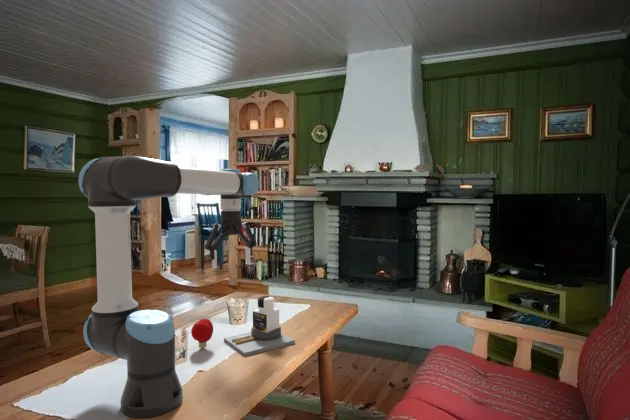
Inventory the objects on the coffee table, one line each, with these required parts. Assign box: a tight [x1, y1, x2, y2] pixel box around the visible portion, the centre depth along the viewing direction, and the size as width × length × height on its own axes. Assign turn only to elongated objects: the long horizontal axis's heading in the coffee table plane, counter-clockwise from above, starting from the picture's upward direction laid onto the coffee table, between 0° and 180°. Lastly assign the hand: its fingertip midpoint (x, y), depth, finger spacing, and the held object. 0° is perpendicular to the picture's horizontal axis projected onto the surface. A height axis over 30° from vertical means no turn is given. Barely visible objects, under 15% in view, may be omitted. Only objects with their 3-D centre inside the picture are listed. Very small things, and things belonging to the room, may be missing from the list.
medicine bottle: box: [252, 295, 280, 333], centre depth 156 cm, size 7×7×12 cm
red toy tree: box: [190, 318, 214, 350], centre depth 146 cm, size 9×7×10 cm
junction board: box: [223, 331, 296, 357], centre depth 152 cm, size 20×17×2 cm
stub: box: [250, 325, 282, 341], centre depth 156 cm, size 11×11×2 cm
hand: (231, 266), depth 158 cm, fingers open, 13 cm apart
